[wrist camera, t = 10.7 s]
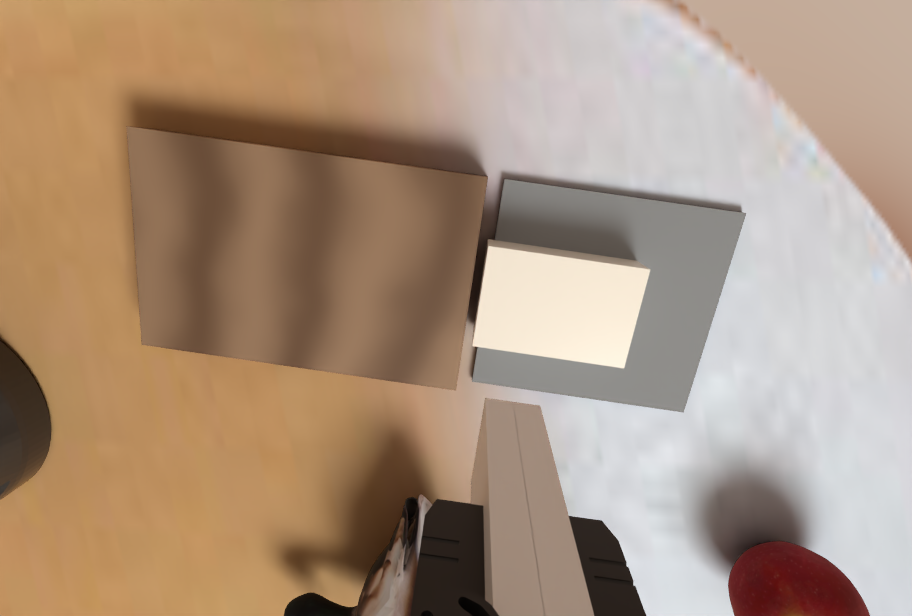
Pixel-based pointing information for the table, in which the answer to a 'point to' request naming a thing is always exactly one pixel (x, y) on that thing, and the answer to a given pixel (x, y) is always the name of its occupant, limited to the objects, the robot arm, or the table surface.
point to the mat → (665, 298)
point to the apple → (790, 584)
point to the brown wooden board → (303, 256)
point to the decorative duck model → (380, 574)
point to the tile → (558, 303)
